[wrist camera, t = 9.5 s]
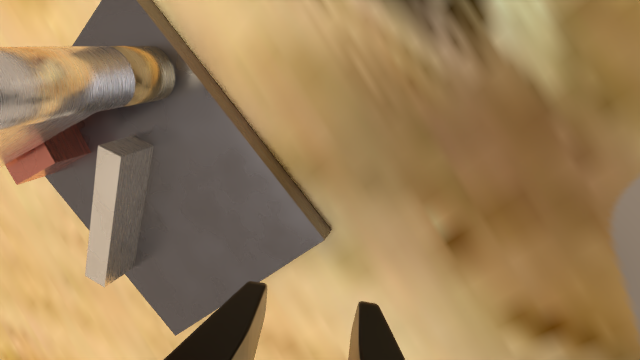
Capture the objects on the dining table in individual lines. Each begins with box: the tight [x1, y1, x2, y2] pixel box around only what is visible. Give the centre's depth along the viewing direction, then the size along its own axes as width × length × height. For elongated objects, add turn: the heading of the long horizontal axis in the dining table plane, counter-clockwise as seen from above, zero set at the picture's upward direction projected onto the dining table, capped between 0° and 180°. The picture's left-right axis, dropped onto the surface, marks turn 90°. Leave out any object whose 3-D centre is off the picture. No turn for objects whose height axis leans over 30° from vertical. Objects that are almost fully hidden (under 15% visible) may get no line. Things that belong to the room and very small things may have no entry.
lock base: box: [5, 0, 331, 336], centre depth 23 cm, size 17×14×4 cm
